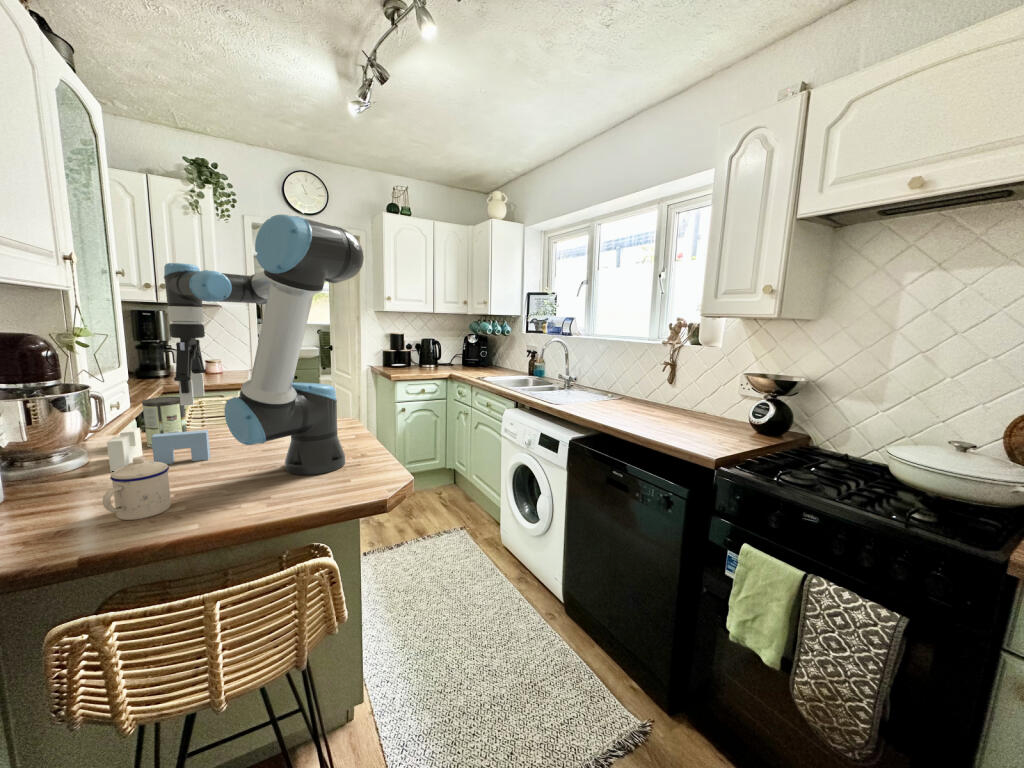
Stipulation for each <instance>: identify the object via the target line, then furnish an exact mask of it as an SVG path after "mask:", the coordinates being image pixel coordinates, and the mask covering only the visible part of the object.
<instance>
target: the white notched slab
mask: <svg viewBox="0 0 1024 768" xmlns="http://www.w3.org/2000/svg"><path fill="white" fill-rule="evenodd" d="M119 435H120V436H113V437H112V438H110V439H108V441H106V444H107V445H106V446H107V453H108V462H109V469H110V470H109V471H110V472H111V473H113V472H112V471H115V470H117V469H119V468H122V467H124V466H126V465H127V464H129V463H132V462H133V458H135V457H140V456H143V454H144V453H143V444H142V439H141V438H142V437H141V428H140V427H131V428H125V429H123V430H122V431H121V432H120V433H119Z"/></svg>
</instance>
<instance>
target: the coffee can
mask: <svg viewBox="0 0 1024 768" xmlns="http://www.w3.org/2000/svg"><path fill="white" fill-rule="evenodd" d="M141 404H142V411H143V412H142V413H143V419H144V420H143V421H144V428H145V436H146V446H147V447H148V448H152V439H151V437H152V436H153V435H154V434H163V433H176V432H188V429H187V419H186V409H185V405H182V406H181V404H180V396H161V397H160V396H159V397H153V398H146V399H144V400H141Z"/></svg>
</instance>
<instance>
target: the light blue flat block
mask: <svg viewBox="0 0 1024 768" xmlns="http://www.w3.org/2000/svg"><path fill="white" fill-rule="evenodd" d="M209 438H210V437H209V430H208V429H204V430H192V431H187V432H176V433H163V434H154V435H153V436H152V437H151V439H152V447H151V448H152V455H153V456H152V457H153V462H162V463H165V464H167V465H173V463H174V462H175V451H174V450H180V449H181V450H182V449H184V450H185V449H190V454H191V462H192V461H194V462H202V461H201V460H204V461H209V460H210V458H211V452H210V451H211V450H210V439H209ZM208 459H209V460H208ZM173 461H174V462H173Z"/></svg>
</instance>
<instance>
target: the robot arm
mask: <svg viewBox="0 0 1024 768" xmlns="http://www.w3.org/2000/svg"><path fill="white" fill-rule="evenodd" d="M254 252H255V253H256V255H255V258H256V261H257V263H258V264H259V266H260V267H261V268H262V269H263V270H262V271H259V272H256V273H254V274H251V275H245V274H235V273H227V272H226V273H224V272H219V271H215V270H208V269H207V270H200V268H199V266H198V265H195V264H190V263H182V262H181V263H179V262H175V263H174V262H169V263H165V265H164V269H163V270H164V271H163V273H164V275H163V279H164V283H165V284H164V286H165V293H166V302H167V305H166V306H167V309H166V310H165V314H168V321H169V322H171V323H169V324H168V328H169V329H168V330H169V336H170V337H171V338H173V339H179V342H176V344H175V346H176V347H175V348H176V356H175V357H176V360H175V362H176V363H175V377H174V378H173V380H174V382H178V391H179V397H180V404H181V406H182V405H184V406H194V405H195V399H194V397H202V396H204V397H205V395H206V394H205V385H204V374H206V372H207V369H205V365H204V361H203V355H202V352H201V345H200V342H201V341H200V339H203V338H204V337H205V336H206V334H205V333H206V331H205V325H204V324H203V323H204V322H205V319H204V318H205V317H204V307H203V302H207V303H208V302H209V303H212V302H213V303H217V302H218V303H238V304H239V303H240V304H241V303H242V304H259V305H265V307H264V313H263V318H262V322H261V327H260V331H259V337H258V342H257V347H256V352H255V357H254V361H253V367H252V372H251V377H250V378H249V379H248V380H246V381H245V382H243V383H242V384H241V387H240V392H239V395H238V396H233V397H232V398H229V399H228V400H227V401H226V402H225V406H224V419H225V422H226V425H227V427H228V429H229V431H230V433H231V435H232V437H233V438H234V439H235V440H236V441H238V443H241V444H242V445H245V446H253V445H257V444H258V445H259V444H260V445H261V444H265V443H266V442H270V441H275V440H279V439H283V438H286V437H290V442H289V447H288V449H287V453H286V456H285V460H284V468H285V471H286V472H287V473H289V474H293V475H297V476H299V475H301V476H307V475H308V476H310V475H311V476H313V475H321V474H326V473H331V472H333V471H336V470H338V469H340V468H342V467H343V466H345V465H346V455H345V454H346V453H345V452H344V449H343V446H342V444H341V442H340V439H339V436H338V414H337V413H338V411H337V410H338V408H337V407H338V405H337V402H338V399H337V395H336V394H337V393H336V392H337V391H336V388H335V387H334V386H333V385H330V384H325V383H317V382H316V383H314V382H294V378H295V374H296V369H297V365H298V361H299V356H300V354H301V349H302V346H303V345H302V344H303V341H304V336H305V331H306V330H307V328H306V327H307V324H308V320H309V315H310V312H311V308H312V302H313V300H314V296H315V295H317V294H319V293H321V292H323V290H324V286H325V283H328V284H338V283H342V282H344V281H348V280H350V279H352V278H354V277H356V276H357V275H358V273H359V272H360V271H361V269H363V264H364V257H365V255H364V250H363V247H362V244H361V243H360V241H359V240H358V239H357V237H356V236H354V235H353V233H352V232H349V231H348V230H346V229H344V228H342V227H340V226H335V225H330V224H326V223H323V222H318V221H315V220H312V219H308V218H303V217H301V216H298V215H289V214H288V215H287V214H276V215H275V214H274V215H273V216H271V217H270V218H267V219H266V220H265V221H264V222H263V223H262V224H261V226H260V227H259V229H258V232H257V234H256V236H255V241H254Z"/></svg>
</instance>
